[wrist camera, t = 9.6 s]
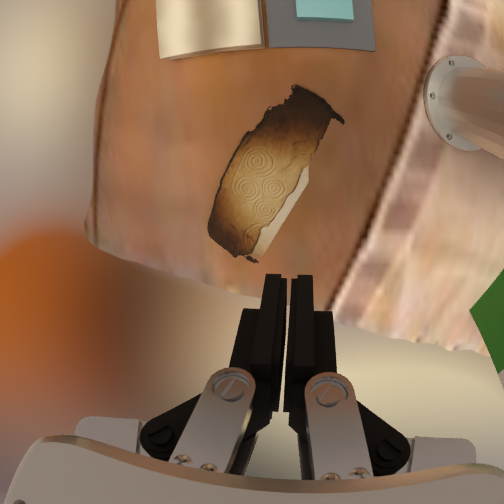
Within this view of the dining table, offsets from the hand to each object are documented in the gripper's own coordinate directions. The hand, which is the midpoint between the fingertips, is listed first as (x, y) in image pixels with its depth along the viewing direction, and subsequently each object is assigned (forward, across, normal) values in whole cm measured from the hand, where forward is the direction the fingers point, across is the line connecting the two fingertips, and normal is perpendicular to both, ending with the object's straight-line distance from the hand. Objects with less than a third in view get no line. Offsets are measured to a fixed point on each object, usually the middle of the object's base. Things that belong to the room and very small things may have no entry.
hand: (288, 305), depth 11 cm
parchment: (+28, +4, +4) cm, 28 cm away
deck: (+27, +9, -20) cm, 35 cm away
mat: (+27, -3, -20) cm, 34 cm away
